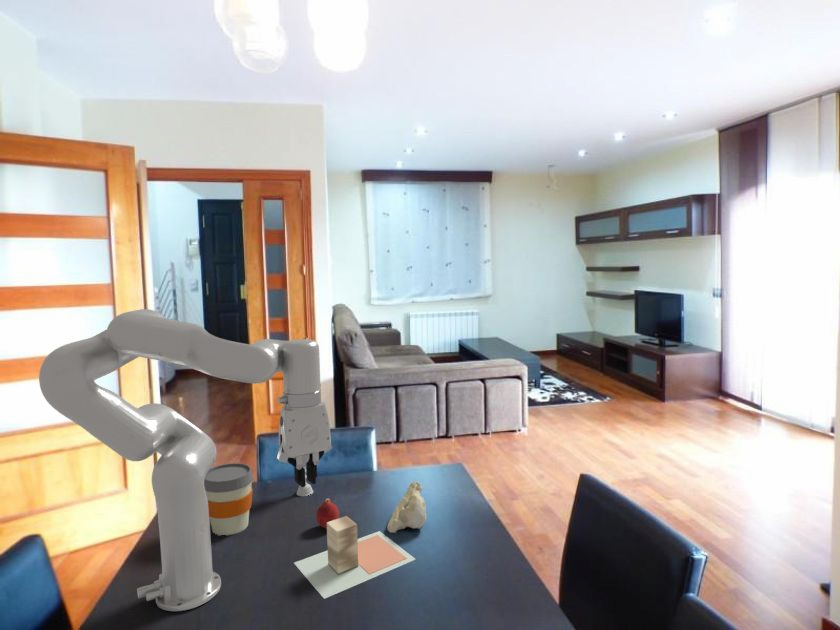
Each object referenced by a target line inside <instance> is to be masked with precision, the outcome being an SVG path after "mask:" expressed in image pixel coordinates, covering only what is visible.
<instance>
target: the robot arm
mask: <svg viewBox="0 0 840 630" xmlns="http://www.w3.org/2000/svg"><path fill="white" fill-rule="evenodd" d="M137 358H144V359H148V360H149V359H150V360H153V361H154V360H156V361H160V362H164V363H165V362H167V363H170V364H176V365H182V366H186V367H189V368H191V369H193V370H195V371H199V372H201V373H203V374H206V375H209V376H211V377H215V378H219V379H224V380H228V381H234V382H239V383H245V384H262V383H266V382H268V381H269V380H271V379H272V378H273V377H274V375H275V374H277V373H279V372H280V373H281V372H282V379H283V381H282V382H283V392H282V396H279V397H277V403H278V404H279V405H281V404H282V406H281V409H280V410H281V411H280V416H279V423H278V447H279V448H278V452H277V456H276V460H277V461H278V462H280V463H286V464H287V463H288V464H290V465H291V466H293V469H294V470H293V472H294V481H295V483H296V484H298V486H301V487H305V485H306V484H305V469H304V468H303V465H302V456H304V455H308V459H309V460H308V462H307V463H306V466H305V468H306V470H307V471H306V476H307V478H306V481H308V482H309V484H312V485H315V484H316V483H317V479H316V478H318V468H317V467H318V465H319V462H320V460H321V459H322V458H323V456H324V455H325V454H326V453H328V452H330V451H331V450H332V449H333V445H332V437H331V428H330V427H331V426H330V419H329V414H328V409H327V406H326V403H325V401H322V392H321V363H320V362H321V361H320V358H321V357H320V346H319V344H318V342H317V340H313V339H308V338H307V339H305V338H304V339H303V338H302V339H301V338H299V339H292V340H281V339H271V338H263V339H258V340H257V341H255V342H253V343H252V344H248V343H244V342H238V341H237V342H236V341H232V340H230V339H229V340H228V339H224V338H220V337H218V336H215V335H213V334H211V333H209V332H208V330H206V329H205V328H204V327H203V326H201V325H199V324H197V323H192V322H186V321H180V320H176V319H170V318H166V317H165V316H163V314H162V313H160V312H158V311H156V310H153V309H149V308H148V309H147V308H145V309H144V308H142V309H141V308H140V309H135V310H131V311H126V312H122V313H120V314H118V315H116V316H115V317H113V319H112V320H111V321H110V322H109V324H108V325H107V329H105V330H103V331H101V332H100V333H97V334H96V335H93V336H91V337H88V338H85V339H81V340H76V341H74V342H69V343H67V344H64V345H61V346H59V347H57V348H55V349H54V350H53V351H51V352H50V353H49V354H48V355H46V357H45V358H44V360H43V362H42V363H41V366H40V369H39V372H38V373H39V375H38V381H39V382H38V383H39V387H40V390H41V394H42V396H43V397H44V399H45V400H46V402H47V403H48V404H49V405H50V406H51V407H52V408H53V409H54V410H55V411H57V412H58V413H59V414H61V415H63V416H64V417H65V418H67V419H69V420H70V421H72V422H73V423H75V424H76V425H78V426H80V427H81V428H82V429H83V430H85V431H86V432H88V433H89V434H90V436H92V437H94V439H96V440H97V441H100V442H101V443H102V444H104V445H105V446H106V447H108V448H109V449H111V450H112V451H114V453H116V454H117V455H119V456H120V457H122V458H123V459H124V460H127V461H131V462H142V461H144V460H147V459H148V458H150V457H152V456H153V455H154V454H155V453H158V454H159V455H160V457H159V458H158V459H157V461H156V462H155V464H154V467H153V469H152V472H151V473H152V474H151V486H152V492H153V495H154V498H155V503H156V510H157V519H158V520H157V523H158V530H159V533H158V534H159V542H160V543H159V544H160V560H161V573H160V574H158V579H157V580H155V581H153V583H151V584H149V585H144V586H140V587H138V588H137V589H136V591H137V592H136V593H137V598H138V599H142V598H145V597H146V602H148V601H149V602H150V601H152V600H155V604H156V605H157V607H158V608H159V609H161V610H163V611H168V612H183V611H187V610H192V609H195V608H198V607H199V606H201V605H203V604H206V603H207V602H209V601H211V600H212V599H213V598H214V597H215V596H216V595H217V594H218V593H219V592H220V590H221V587H222V579H221V576H220V575H219V574H218V573H217V572H215V571H214V570H213V555H212V542H211V541H212V540H211V522H210V517H209V508H208V500H207V495H206V491H205V487H204V479H205V476H206V474H207V473H208V471H209V470H210V468H213V467H212V466H214V463H215V462H216V458H217V456H218V455H217V451H218V450H217V447H216V444H215V442H214V440H213V439H212V438H211V436H209V435H208V434H206V433H205V432H204V431H203V430H202V429H200V428H199V427H198V426H196V425H195V424H194V423H192V422H191V421H190V420H188V418H186V417H185V416H183V415H182V414H180V413H179V412H178V411H176V410H174V409H173V408H171V407H170V406H167V405H165V404H161V403H147V404H144V405H141V406H139V407H137V406H134V405H132V404H131V403H130V402H128V401H126V400H125V399H124V398H123V397H122V396H121V395H119V394H117V393H116V392H114V391H112V390H110V389H108V388H105V387H103V386H100V385H98V384H97V383H96V382H95V380H97V379H101V378H102V377H104V376H107V375H109V374H111V373H114V372H115V371H117V370H118V369H120V368H122V367H124V366H125V365H127V364H129V363H131V362H133V361H134V360H136V359H137Z"/></svg>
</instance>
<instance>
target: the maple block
mask: <svg viewBox="0 0 840 630" xmlns="http://www.w3.org/2000/svg"><path fill="white" fill-rule="evenodd" d="M326 537H327V538H326V543H327V550H328V565H329V566H330V567H331V568H332V569H333V570H334V571H335V572H336V573H337V574H338V575H340V574H342V573H345V572H347V571H350V570H352V569H354V568H357V567H358V539H359V538H358V524H357V523H356V522H355V521H353V519H351V518H350V517H348V515H345V516H342V517H339V519H336V520H333V521H330V522H327V529H326Z"/></svg>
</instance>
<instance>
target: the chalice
mask: <svg viewBox="0 0 840 630" xmlns="http://www.w3.org/2000/svg"><path fill="white" fill-rule="evenodd" d="M308 460H309V459H308V455H304V456H302V465H303V468H304V469H305V484H306V485H305V487H301V486H300V485H298V489H297V491H296V495H297V496H298V497H307V496H308V495H309V496H311V495H313V493H314V490H313V488H312V486H311V483H308V482H307V470H306V463H307V462H308ZM310 494H311V495H310Z"/></svg>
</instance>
